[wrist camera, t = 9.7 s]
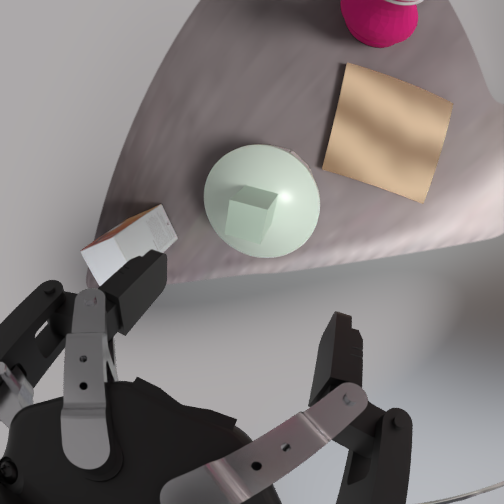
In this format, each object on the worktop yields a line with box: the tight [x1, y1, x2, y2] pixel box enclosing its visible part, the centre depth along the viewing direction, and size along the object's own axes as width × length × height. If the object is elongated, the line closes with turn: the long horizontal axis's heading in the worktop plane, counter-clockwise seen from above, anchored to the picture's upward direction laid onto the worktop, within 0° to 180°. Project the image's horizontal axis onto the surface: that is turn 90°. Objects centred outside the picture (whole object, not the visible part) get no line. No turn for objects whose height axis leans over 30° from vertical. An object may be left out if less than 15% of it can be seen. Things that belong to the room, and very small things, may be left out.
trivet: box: [322, 63, 453, 204], centre depth 25 cm, size 12×12×1 cm
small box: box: [81, 204, 178, 286], centre depth 36 cm, size 8×6×10 cm
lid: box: [204, 144, 320, 258], centre depth 26 cm, size 12×12×5 cm
